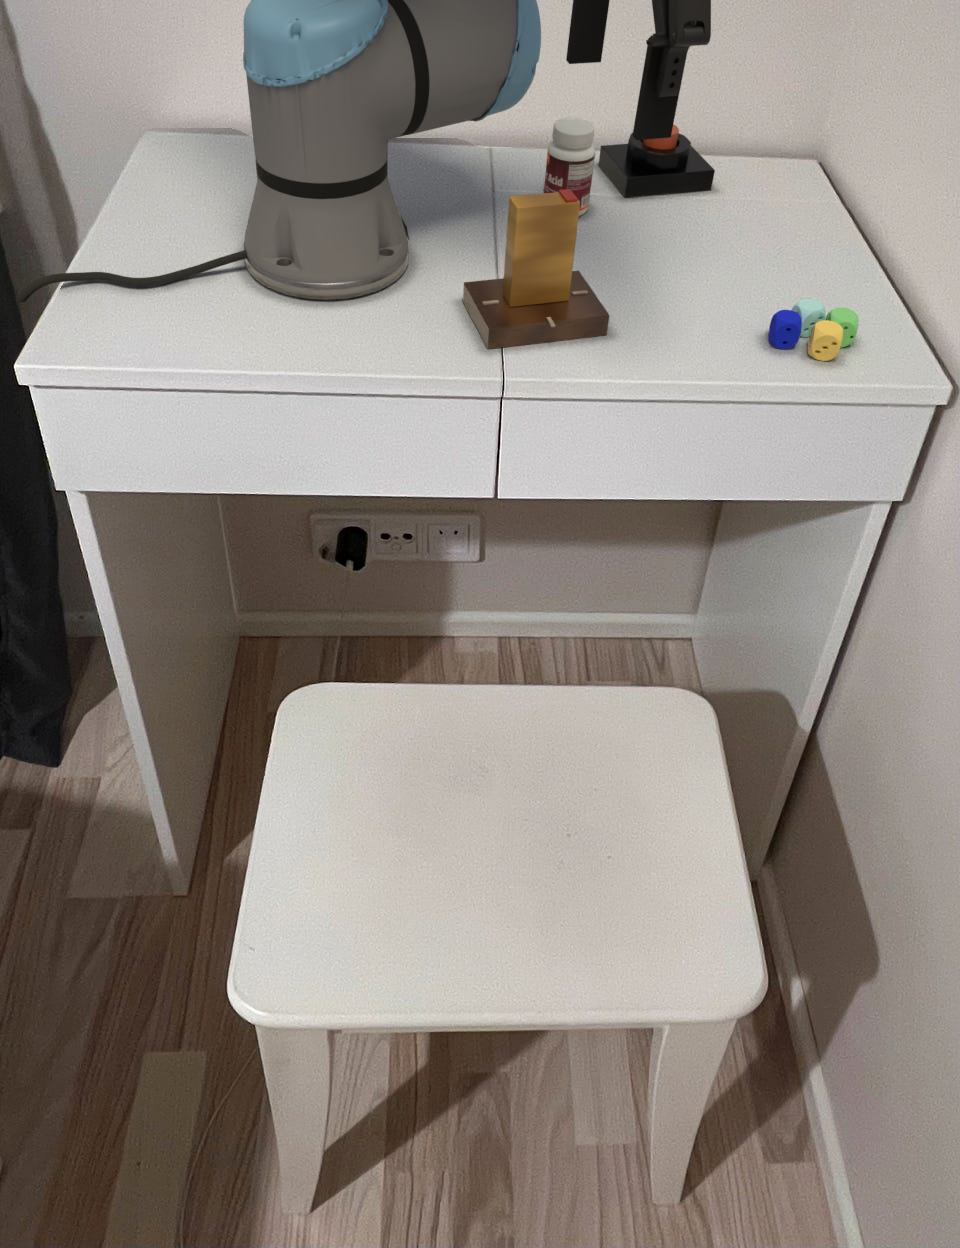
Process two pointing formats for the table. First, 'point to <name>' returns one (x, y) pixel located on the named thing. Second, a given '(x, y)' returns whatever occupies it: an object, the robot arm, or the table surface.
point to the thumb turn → (540, 247)
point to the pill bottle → (571, 159)
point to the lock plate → (534, 315)
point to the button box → (655, 168)
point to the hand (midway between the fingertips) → (615, 97)
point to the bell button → (664, 141)
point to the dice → (814, 328)
